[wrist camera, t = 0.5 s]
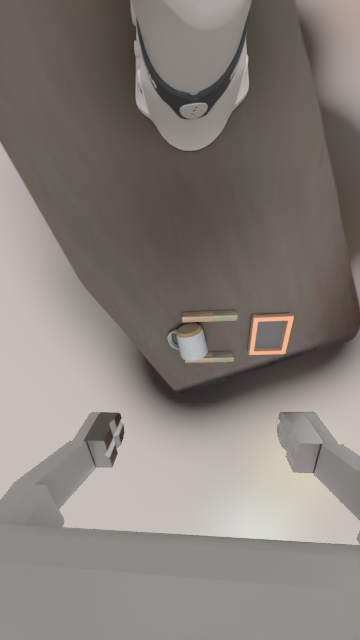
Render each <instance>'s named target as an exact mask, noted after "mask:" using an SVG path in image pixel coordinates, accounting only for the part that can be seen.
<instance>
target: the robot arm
mask: <svg viewBox="0 0 360 640" xmlns="http://www.w3.org/2000/svg"><path fill="white" fill-rule="evenodd" d="M251 2H252V0H130V3H131V15H132V22H133V25H135V26H136V40H134V52H135V56H136V104H137V107H138V109H139V110H140V111H141V112H142V113H143V114H144V115H145V116H146V117H148V118H149V119H151V120H152V121H153V123H154V124H155V126H156V127H157V129H158V131H159V132H160V134H161V135H162V136H163V138H164V139H165V140H166V141H167V142H168V143H169V144H171V145H172V146H174V147H176V148H178V149H180V150H184V151H195V150H199V149H202V148H204V147H206V146H207V145H209V144H210V143H212V142H213V141H214V140H215V139H216V138H217V137H218V135H219V134H220V133H221V131H222V130H223V128H224V127H225V125H226V123H227V121H228V119H229V117H230V115H231V113H232V111H233V110H234V109H235V108H236V107H237V106H238V105H239V104H240V103H241V102H242V101H243V100H244V99H245V97H246V95H247V93H248V89H249V75H248V55H247V47H246V35H247V28H248V22H249V15H250V5H251ZM141 91H142V93H141ZM120 420H121V414H120V413H108V412H107V413H106V412H92V413H91V414H89V416H88V418H87V419H86V420H85V422H84V424H83V425H82V427H81V428H80V430H79V431H78V433H77V435H76V436H75V438H74V439H73V441H69V442H68V443H66V444H65V445H64V446H62V447H61V448H60V449H58V450H57V451H56V452H54V453H53V454H52V455H50V456H49V457H48V458H46V459H45V460H44V461H42V462H41V463H40V464H38V465H37V466H36V467H34V468H33V469H32V470H30V471H29V472H28V473H26V474H25V475H24V476H22V477H21V478H20V479H18V480H17V481H16V482H14V483H13V485H12V486H11V487H10V489H9V490H8V491H7V493H6V494H5V495H4V496H3V498H2V499H1V500H0V640H360V545H346V544H330V543H328V544H327V543H314V542H296V541H279V540H264V539H248V538H231V537H213V536H198V535H181V534H165V533H149V532H131V531H115V530H98V529H82V528H81V529H80V528H65V527H62V526H63V524H64V518H63V516H62V514H61V513H60V511H59V509H60V507H61V506H62V505H63V504H64V503H65V502H66V501H67V499H68V498H70V496H71V495H72V494H73V493H74V492H75V491H76V490H77V489H78V488H79V486H80V485H81V484H82V483H83V482H84V481H85V480H86V479H87V478H88V476H89V475H90V474H91V473H92V472H93V471H94V470H95V467H113V464H114V461H115V459H116V456H117V454H118V452H117V448H118V447H119V446H120V445H121V443H122V440H123V436H124V425H123V424H122V423H121V422H120ZM279 420H280V423H279V424H278V425H277V433H278V438H279V441H280V444H281V446H282V447H283V448H284V449H285V450H286V451H287V454H286V457H287V460H288V462H289V464H290V466H291V468H292V471H293V472H299V473H314V475H315V476H316V477H317V478H318V479H319V480H320V481H321V482H322V483H323V484H324V485H325V486H326V487H327V488H328V489H329V490H330V491H331V492H332V493H333V494H334V495H335V496H336V497H337V498H338V499H339V500H340V501H341V502H342V503H343V504H344V505H345V506H346V507H347V508H348V509H349V510H350V511H351V512H352V513H353V514H354V515H355V516H356V517H357V518H358V519H359V520H360V456H359V455H357V454H356V453H354V452H353V451H351V450H350V449H348V448H347V447H345V446H344V445H339V444H338V442H337V441H336V440H335V438H334V437H333V436H332V435H331V433H330V432H329V430H328V429H327V428H326V426H325V425H324V424H323V422H322V421H321V420H320V418H319V417H318V416H317V414H316V413H314V412H281V413H280V414H279ZM357 540H358V542H359V544H360V532H359V534H358V537H357Z"/></svg>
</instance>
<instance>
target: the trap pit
mask: <svg viewBox="0 0 360 640" xmlns="http://www.w3.org/2000/svg"><path fill="white" fill-rule="evenodd" d="M293 319H294V316H293V315H292V314H291V313H275V314H252V316H251V324H250V332H249V341H248V349H247V351H248V353H249V355H261V354H285V352H286V348H287V344H288V340H289V335H290V331H291V327H292V323H293Z"/></svg>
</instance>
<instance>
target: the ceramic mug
mask: <svg viewBox="0 0 360 640" xmlns="http://www.w3.org/2000/svg"><path fill="white" fill-rule="evenodd" d="M172 333H177V341H178V345H176V344H175V343H174V342H173V341H172ZM168 342H169V344H170V345H171V346H172V347H173V348H175V349H178V350H180V354H181V357H182V358H183V359H184V360H187V361H196V360H200V359H202V358H203V357H205V356H206V354H207V352H208V350H207V345H206V341H205V337H204V332H203V329H202V327H201V326H200V325H199V324H196V323H188V324H185V325H183V326H181V327H180V328H179V329H178V330H173V331H171V332H170V333H169V334H168Z"/></svg>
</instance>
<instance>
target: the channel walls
mask: <svg viewBox="0 0 360 640" xmlns="http://www.w3.org/2000/svg"><path fill="white" fill-rule="evenodd" d="M233 320H237V313H236V311H235V310H226V311H203V312H183V314H182V321H183V322H208V321H233ZM195 362H234V356H233V353H232V351H216V352H207V354H206V356H205V357H203V358H202V359H200V360H196V361H187V360H185V363H195Z"/></svg>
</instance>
